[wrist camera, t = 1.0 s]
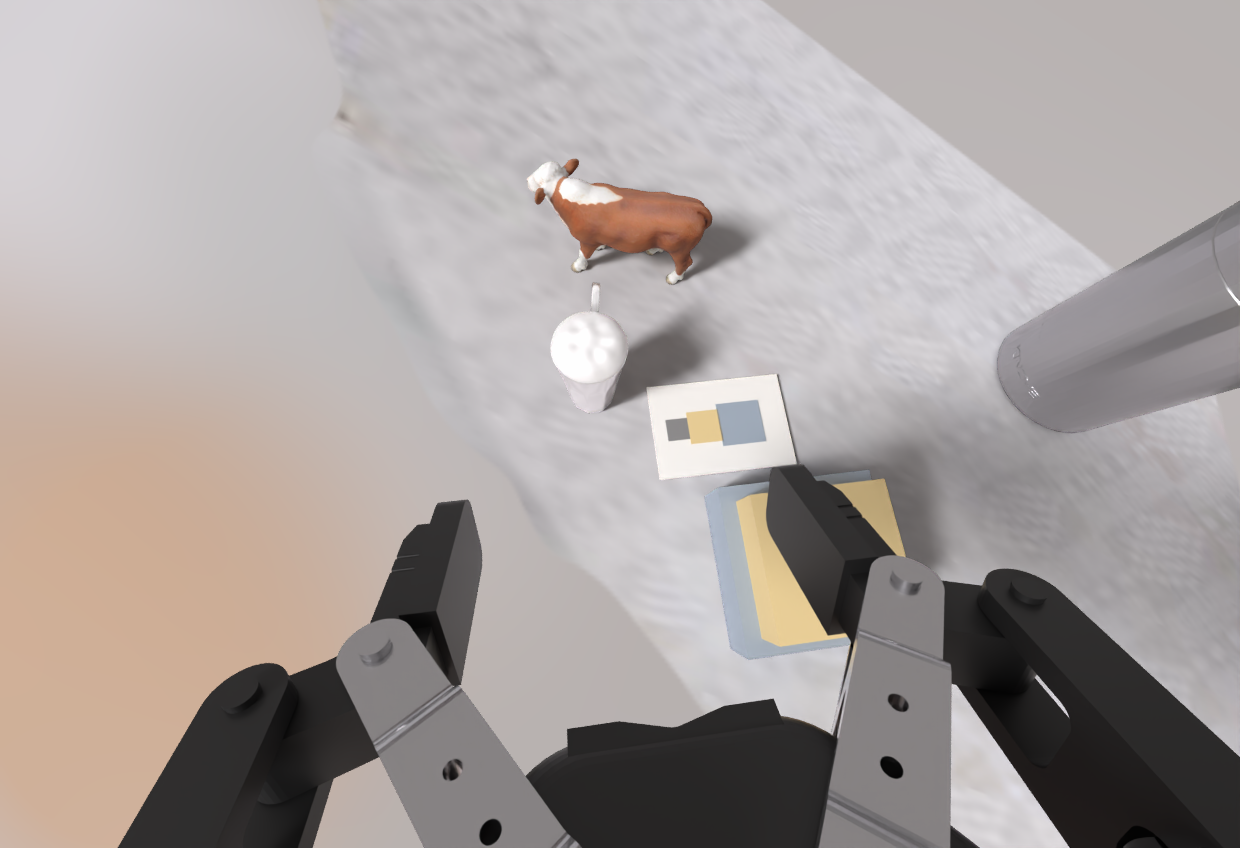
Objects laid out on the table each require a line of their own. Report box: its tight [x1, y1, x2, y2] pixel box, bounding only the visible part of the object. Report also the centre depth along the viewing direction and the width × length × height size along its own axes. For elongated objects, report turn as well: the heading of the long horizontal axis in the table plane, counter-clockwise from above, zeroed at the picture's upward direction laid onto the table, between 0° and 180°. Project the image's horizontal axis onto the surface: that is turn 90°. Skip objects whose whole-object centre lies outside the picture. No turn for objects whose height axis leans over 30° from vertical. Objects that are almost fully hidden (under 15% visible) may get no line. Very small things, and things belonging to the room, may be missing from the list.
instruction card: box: [646, 374, 797, 480], centre depth 36 cm, size 10×7×1 cm
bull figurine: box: [527, 159, 712, 285], centre depth 36 cm, size 4×13×8 cm, turn 78°
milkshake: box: [551, 282, 628, 414], centre depth 32 cm, size 4×5×10 cm
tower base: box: [705, 470, 906, 660], centre depth 30 cm, size 10×10×7 cm
